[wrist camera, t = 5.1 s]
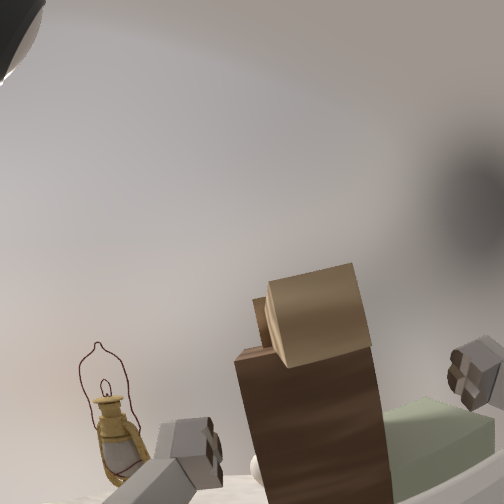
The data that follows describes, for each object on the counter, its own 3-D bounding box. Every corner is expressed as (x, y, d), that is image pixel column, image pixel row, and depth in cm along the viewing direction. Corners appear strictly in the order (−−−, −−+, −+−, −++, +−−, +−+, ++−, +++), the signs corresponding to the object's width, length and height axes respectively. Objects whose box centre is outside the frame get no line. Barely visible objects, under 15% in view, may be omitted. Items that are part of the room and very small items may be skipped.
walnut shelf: (395, 595, 12) (366, 329, 18) (304, 620, 12) (233, 361, 18) (363, 536, 24) (327, 330, 30) (294, 553, 23) (244, 349, 30)
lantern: (98, 511, 35) (51, 346, 43) (131, 491, 45) (91, 344, 52) (153, 525, 32) (100, 338, 40) (183, 499, 42) (141, 336, 49)
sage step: (482, 551, 12) (494, 418, 16) (395, 595, 12) (390, 470, 16) (433, 507, 24) (425, 396, 28) (363, 536, 24) (346, 425, 27)
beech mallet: (391, 339, 10) (363, 231, 11) (265, 373, 10) (240, 257, 11) (310, 334, 29) (301, 292, 30) (262, 345, 29) (253, 303, 30)
